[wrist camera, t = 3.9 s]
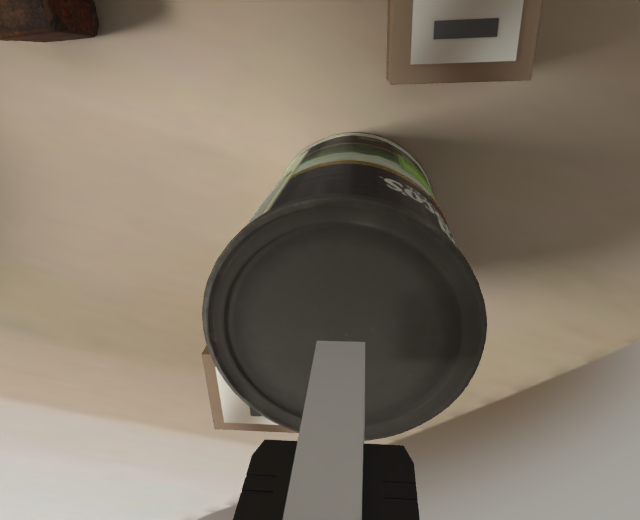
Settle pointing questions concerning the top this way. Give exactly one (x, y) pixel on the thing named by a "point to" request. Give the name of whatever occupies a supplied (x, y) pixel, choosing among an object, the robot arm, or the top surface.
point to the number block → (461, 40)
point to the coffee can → (347, 288)
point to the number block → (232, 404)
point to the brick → (47, 20)
